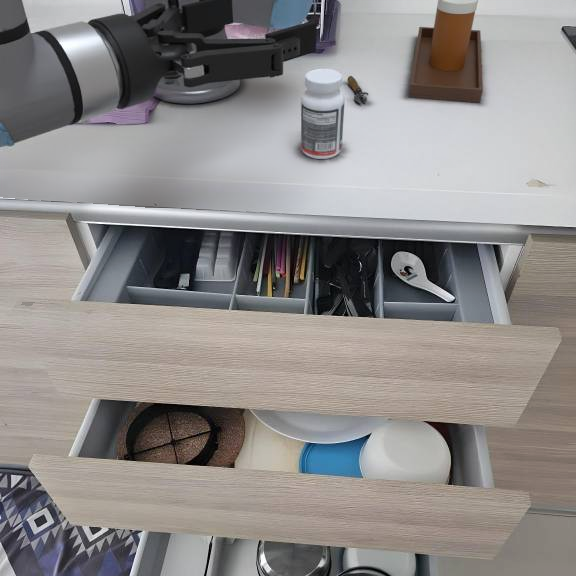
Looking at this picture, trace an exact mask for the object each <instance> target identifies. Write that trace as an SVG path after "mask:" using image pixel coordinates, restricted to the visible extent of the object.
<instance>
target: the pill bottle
mask: <svg viewBox="0 0 576 576" xmlns="http://www.w3.org/2000/svg"><path fill="white" fill-rule="evenodd" d="M342 81H343V76H342V74H341V72H339V71H338V70H335V69H332V68H315V69H312V70H309V71H307V72H306V73H305V75H304V86H305V88H306V90H305V91H304V92H303V93H302V96H301V102H300V115H301V116H300V149H301V152H302V153H303V154H304V155H306V156H307V157H310V158H313V159H317V160H326V159H332V158H334V157H337V155H339V154H340V153H341V151H342V150H343V149H342V148H343V136H344V118H345V117H344V116H345V95H344V93H343V92H342V91H341V90H340V89H341V87H342V84H343V83H342Z"/></svg>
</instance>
